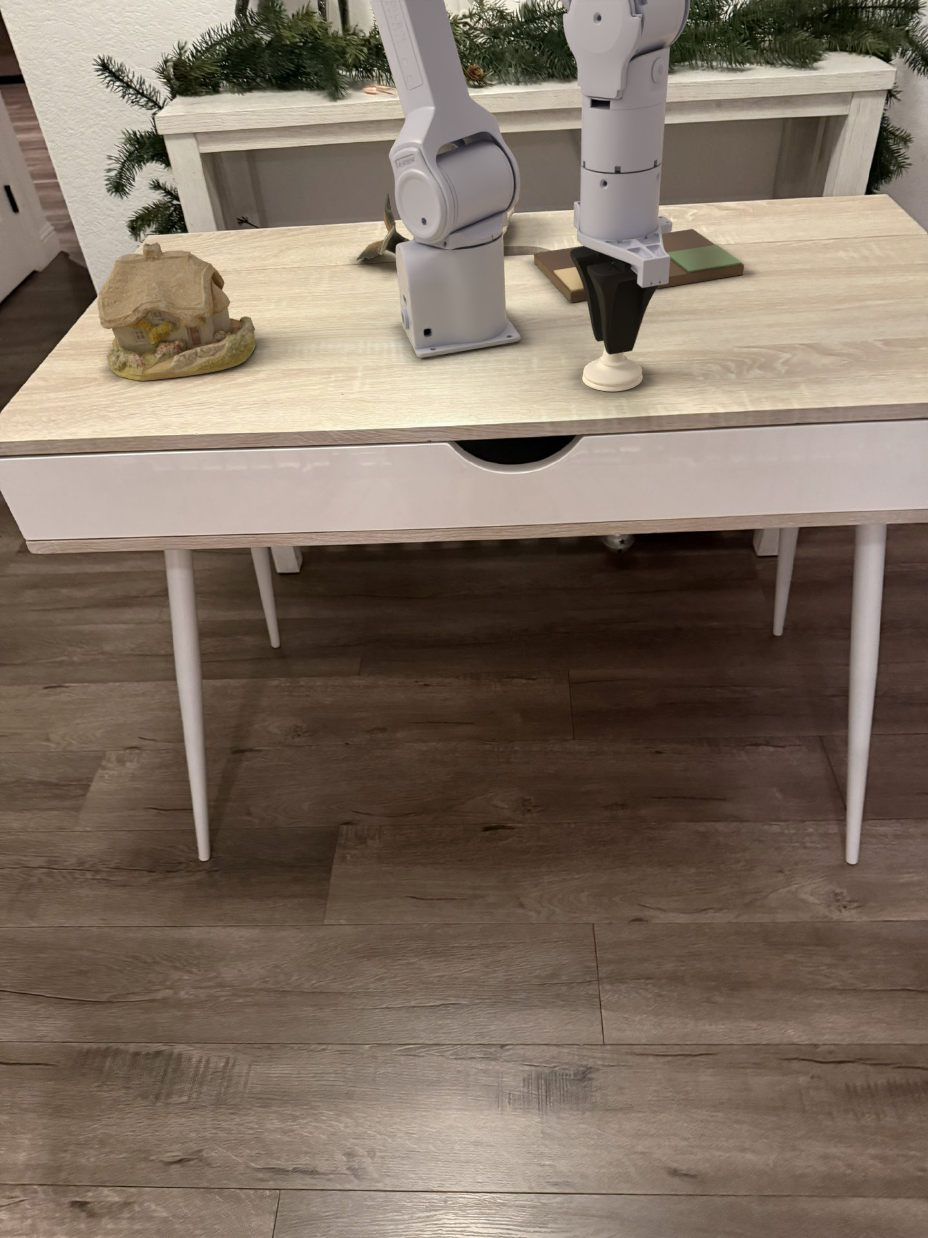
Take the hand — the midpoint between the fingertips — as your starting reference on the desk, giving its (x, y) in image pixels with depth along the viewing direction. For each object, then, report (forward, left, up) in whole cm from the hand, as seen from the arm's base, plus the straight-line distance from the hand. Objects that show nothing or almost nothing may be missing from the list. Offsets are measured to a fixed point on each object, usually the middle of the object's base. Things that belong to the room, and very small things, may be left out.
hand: (613, 344), depth 74 cm
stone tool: (-1, +38, -3) cm, 39 cm away
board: (+11, +22, -3) cm, 25 cm away
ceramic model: (-35, +19, -3) cm, 40 cm away
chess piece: (0, 0, -3) cm, 3 cm away
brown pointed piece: (-12, +34, -3) cm, 37 cm away
